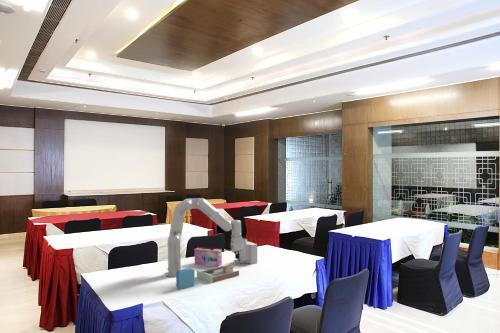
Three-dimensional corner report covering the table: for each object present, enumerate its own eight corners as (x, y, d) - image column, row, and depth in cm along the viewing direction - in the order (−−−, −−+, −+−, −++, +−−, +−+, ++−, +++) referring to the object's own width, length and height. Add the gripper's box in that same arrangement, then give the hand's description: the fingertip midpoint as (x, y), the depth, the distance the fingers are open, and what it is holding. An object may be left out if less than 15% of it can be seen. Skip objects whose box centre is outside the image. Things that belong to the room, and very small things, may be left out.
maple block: (222, 271, 272) (222, 265, 272) (229, 269, 276) (228, 264, 276) (226, 272, 268) (226, 267, 268) (232, 270, 272) (232, 265, 272)
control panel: (257, 262, 301) (257, 239, 301) (239, 266, 291) (239, 242, 291) (247, 258, 315) (246, 236, 315) (229, 262, 304) (229, 239, 304)
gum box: (192, 264, 299) (192, 248, 299) (197, 262, 306) (197, 246, 306) (218, 267, 290) (218, 250, 290) (222, 264, 298) (222, 248, 298)
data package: (191, 284, 249) (191, 267, 249) (194, 285, 245) (194, 268, 245) (176, 287, 241) (176, 270, 241) (179, 289, 238) (178, 272, 238)
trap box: (196, 277, 264) (196, 270, 264) (224, 270, 282) (224, 263, 282) (211, 283, 250) (211, 276, 250) (239, 275, 267) (239, 268, 267)
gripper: (232, 237, 270) (233, 261, 270) (246, 234, 280) (247, 257, 280) (226, 236, 276) (227, 259, 276) (240, 233, 286) (241, 256, 286)
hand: (237, 258), depth 278 cm, fingers closed
